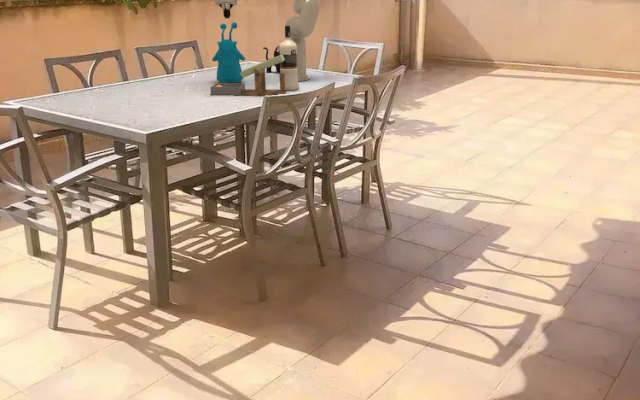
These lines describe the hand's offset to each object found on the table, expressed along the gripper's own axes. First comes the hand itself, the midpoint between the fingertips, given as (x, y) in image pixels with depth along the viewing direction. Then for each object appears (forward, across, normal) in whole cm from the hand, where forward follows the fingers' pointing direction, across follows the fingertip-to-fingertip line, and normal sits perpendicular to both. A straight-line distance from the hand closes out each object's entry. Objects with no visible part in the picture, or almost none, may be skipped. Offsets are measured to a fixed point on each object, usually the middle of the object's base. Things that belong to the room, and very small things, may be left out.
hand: (227, 18), depth 330 cm
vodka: (+33, -30, +6) cm, 45 cm away
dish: (+33, -2, +17) cm, 37 cm away
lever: (+23, -20, +12) cm, 33 cm away
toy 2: (+33, -15, -44) cm, 57 cm away
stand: (+33, -20, +17) cm, 42 cm away
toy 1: (+33, +4, -15) cm, 37 cm away
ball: (+31, +2, +17) cm, 35 cm away
